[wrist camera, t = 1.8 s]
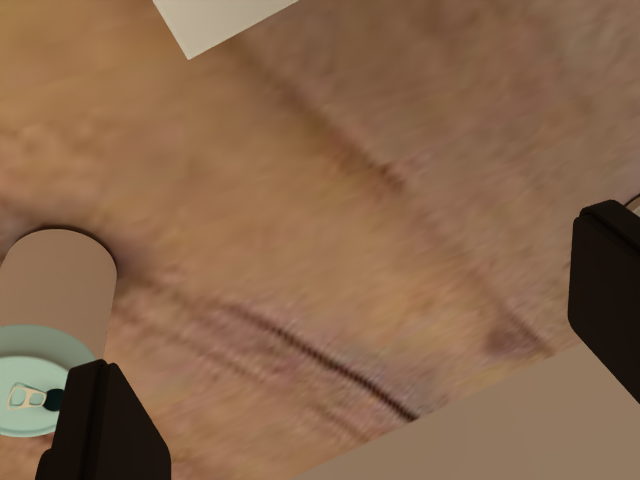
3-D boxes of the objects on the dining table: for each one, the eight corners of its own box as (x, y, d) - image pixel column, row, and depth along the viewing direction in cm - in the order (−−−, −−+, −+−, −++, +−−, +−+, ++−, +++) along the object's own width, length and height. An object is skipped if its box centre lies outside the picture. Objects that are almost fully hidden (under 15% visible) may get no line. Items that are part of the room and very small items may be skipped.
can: (92, 211, 36) (59, 331, 26) (132, 292, 40) (116, 423, 30) (-15, 240, 36) (-90, 373, 26) (36, 319, 40) (-12, 461, 30)
